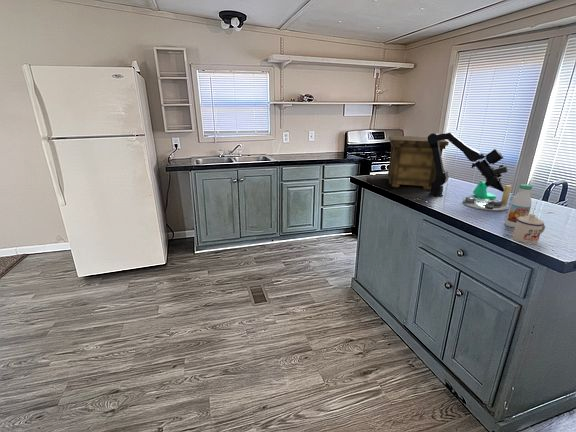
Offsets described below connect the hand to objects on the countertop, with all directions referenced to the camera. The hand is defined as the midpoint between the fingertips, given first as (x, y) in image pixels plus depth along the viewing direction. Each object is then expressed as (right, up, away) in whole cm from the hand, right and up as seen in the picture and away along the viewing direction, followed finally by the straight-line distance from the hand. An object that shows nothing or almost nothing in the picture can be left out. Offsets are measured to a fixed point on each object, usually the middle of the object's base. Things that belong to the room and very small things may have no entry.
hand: (503, 191), depth 171 cm
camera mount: (+2, -3, +21) cm, 21 cm away
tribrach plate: (-8, -8, +4) cm, 12 cm away
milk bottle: (-14, -19, -27) cm, 36 cm away
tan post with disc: (-6, -8, -1) cm, 10 cm away
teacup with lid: (-20, -24, -42) cm, 53 cm away
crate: (-32, +10, +53) cm, 63 cm away
